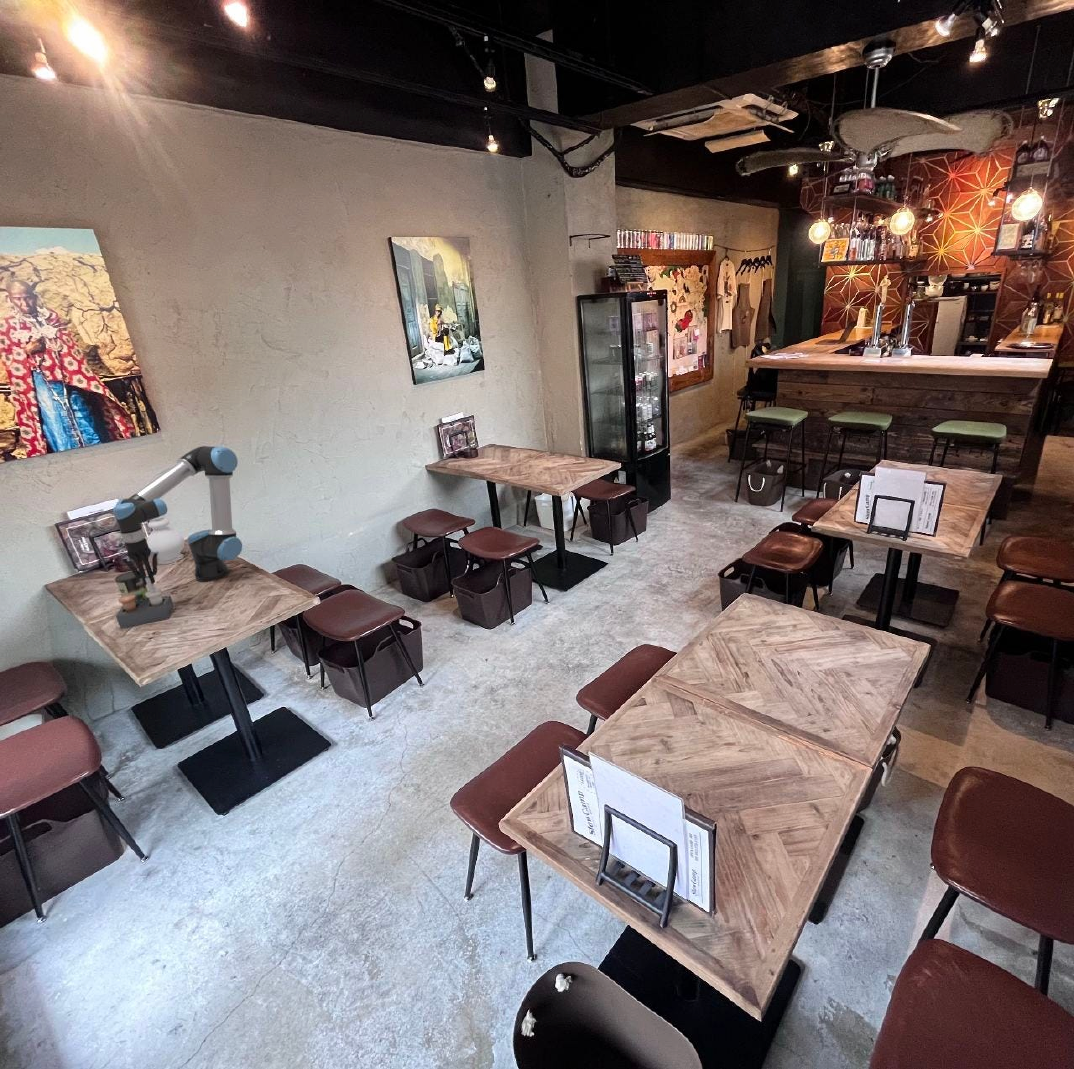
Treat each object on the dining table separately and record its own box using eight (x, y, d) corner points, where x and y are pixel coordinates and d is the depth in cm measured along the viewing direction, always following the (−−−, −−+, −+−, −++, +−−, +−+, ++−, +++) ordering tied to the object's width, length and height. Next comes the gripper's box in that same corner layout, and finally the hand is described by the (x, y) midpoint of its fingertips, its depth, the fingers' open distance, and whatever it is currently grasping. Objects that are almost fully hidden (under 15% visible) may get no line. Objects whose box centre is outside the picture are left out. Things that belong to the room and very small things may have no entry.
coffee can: (155, 596, 271) (145, 569, 266) (145, 606, 262) (134, 578, 256) (131, 599, 270) (121, 572, 265) (120, 609, 260) (109, 581, 255)
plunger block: (174, 606, 260) (170, 594, 257) (168, 618, 249) (164, 606, 247) (128, 616, 254) (123, 604, 252) (120, 628, 244) (115, 616, 241)
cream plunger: (167, 601, 255) (162, 587, 252) (164, 607, 250) (159, 593, 247) (151, 604, 253) (147, 590, 251) (148, 610, 248) (143, 596, 245)
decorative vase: (193, 557, 314) (180, 514, 305) (157, 569, 302) (141, 524, 293) (183, 550, 326) (169, 508, 316) (147, 560, 314) (132, 517, 305)
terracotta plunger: (141, 606, 252) (136, 592, 249) (137, 612, 247) (132, 598, 244) (125, 609, 250) (120, 595, 248) (121, 615, 245) (116, 601, 242)
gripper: (114, 546, 235) (132, 597, 243) (150, 540, 239) (167, 590, 247) (119, 540, 241) (137, 590, 250) (154, 534, 245) (171, 583, 254)
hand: (152, 590), depth 249 cm, fingers closed
